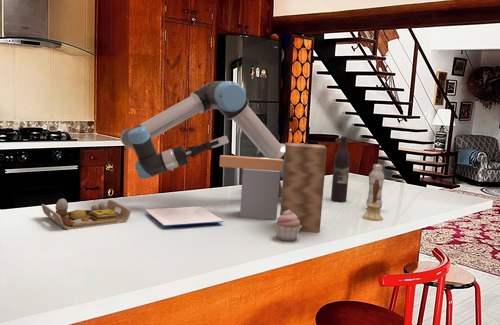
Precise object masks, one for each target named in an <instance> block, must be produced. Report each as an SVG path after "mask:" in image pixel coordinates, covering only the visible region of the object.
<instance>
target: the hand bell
mask: <svg viewBox="0 0 500 325" xmlns="http://www.w3.org/2000/svg"><path fill="white" fill-rule="evenodd" d="M379 187H380V186H379V180H377V179H376V180H375V182H374V184H373V200H372V203H371V204H369V205H368V208H367V207H366V208H367V209H366V210H365V213H363V215H362V218H363V219H365V220H368V221H378V222H379V221H383V220H384V218H383V216H382V215H381V212H380V210H381V209H379V205H377V204H376V201H377V194H378V192H379Z"/></svg>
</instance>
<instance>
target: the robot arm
mask: <svg viewBox="0 0 500 325" xmlns="http://www.w3.org/2000/svg"><path fill="white" fill-rule="evenodd" d="M246 96H247V94H246V91H245V89H244V87H242V85H240V84H239V83H237V82H235V81H230V80H225V81H224V80H220V81H219V80H215V81H211V82H208V83H207V84H205V85H203V86H201V87H200V88H197V89H196V90H194V91H192V92H191V93H190V95H189V96H188V97H186V98H185V99H183V100H181V101H179V102H178V103H176V104H173V105H172V106H170V107H168V108H167V109H165V110H164V111H163V110H162V111H161V112H160V113H157V114H156V115H154V116H152V117H150V118H148V119H147V120H145V121H144V122H141V123H140V124H138V125H136V126H134V127H131V128H126V129H124V130H123V131H122V132H121V134H120V141H121V143H122V145H124V147H126V148H127V149H131V150H133V151H134V152H135V156H136V157H137V161H135V162H134V166H135V171H136V173H137V175H138V177H139V178H140V179H141V180H146V179H149V178H152V177H155V176H158V175H161V174H163V173H166V172H169V171H171V172H174V169H176V168H177V169H178V167H182V166H185V165H188V164H189V159H188V158H189V157H191V158H194V157H196V156H197V155H200V154H202V152H205V151H208V150H209V151H212V150H213V148H214V149H215V148H218V147H221V146H223V145H226V144H228V143H230V141H229V139H228V138H229V137H228V136H227V135H223V136H220V137H218V138H215V139H211V140H209V141H207V142H206V141H205V142H204V143H201V144H197V145H194V146H189V147H187V149H185V148H184V146H183V145H179V146H175V147H173V149H172V148H169V149H166V150H164V151H161V152H159V153H157V149H156V148H155V145H154V142H153V140H152V139H155V138H156V137H158V136H160V135H162V134H163V133H165V132H167V131H168V130H170V129H172V128H173V127H176V126H177V125H179V124H181V123H183V122H184V121H186V120H188V119H190V118H191V117H193V116H195V115H197V114H198V113H200V114H203V113H205V112H207V111H209V110H219V112H220V113H221V114H222V115H224V117H225V119H227V120H232V121H233V122H234V124H236V125H237V127H238V128H239V129H240V130H241V131H242V132H243V133H244V134H245V135H246V136H247V138H248V139H249V140H250V141H251V142H252V143H253V145H255V147H256V148H257V150H256V157H258V158H273V159H283V167H282V171H280V179H279V193H278V198H281V196H282V182H281V179H283V169H284V156H285V143H280V142H279V141H278V140H277V138H276V137H275V136H274V134H272V132H271V131H270V129H268V128H267V126H266V125H265V124H264V123H263V122H262V121H261V119H260V118H259V117H258V116H257V115H256V113H255V112H254V111H253V110H252V108H251V107H250V106H249V100H248V98H247V97H246Z"/></svg>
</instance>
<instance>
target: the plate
mask: <svg viewBox="0 0 500 325" xmlns="http://www.w3.org/2000/svg"><path fill="white" fill-rule="evenodd" d="M145 212H146V213H148V214H149V215H150V216H151V217H152V218H154V219H155V220H156V221H157V222H158V223H160V224H161V225H162V226H163V227H178V226H192V225H206V224H216V223H224V222H225V220H223V219H222V218H220V217H219V216H217V215H215V214H214V213H213V212H210V211H209V210H207V209H205V208H203V207H202V206H185V207H184V206H183V207H166V208H165V207H163V208H147V209H145Z"/></svg>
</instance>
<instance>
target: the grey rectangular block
mask: <svg viewBox="0 0 500 325" xmlns="http://www.w3.org/2000/svg"><path fill="white" fill-rule="evenodd" d="M279 179H280V180H281V177H280V171H276V170H261V169H246V168H242V177H241V180H242V181H241V190H240V191H241V195H240V196H241V197H240V209H239V210H240V211H239V218H245V219H246V218H247V219H260V220H272V221H273V220H274V221H275V220H276V221H277V219H278V217H277V216H278V205H279V197H278V193H279Z"/></svg>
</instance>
